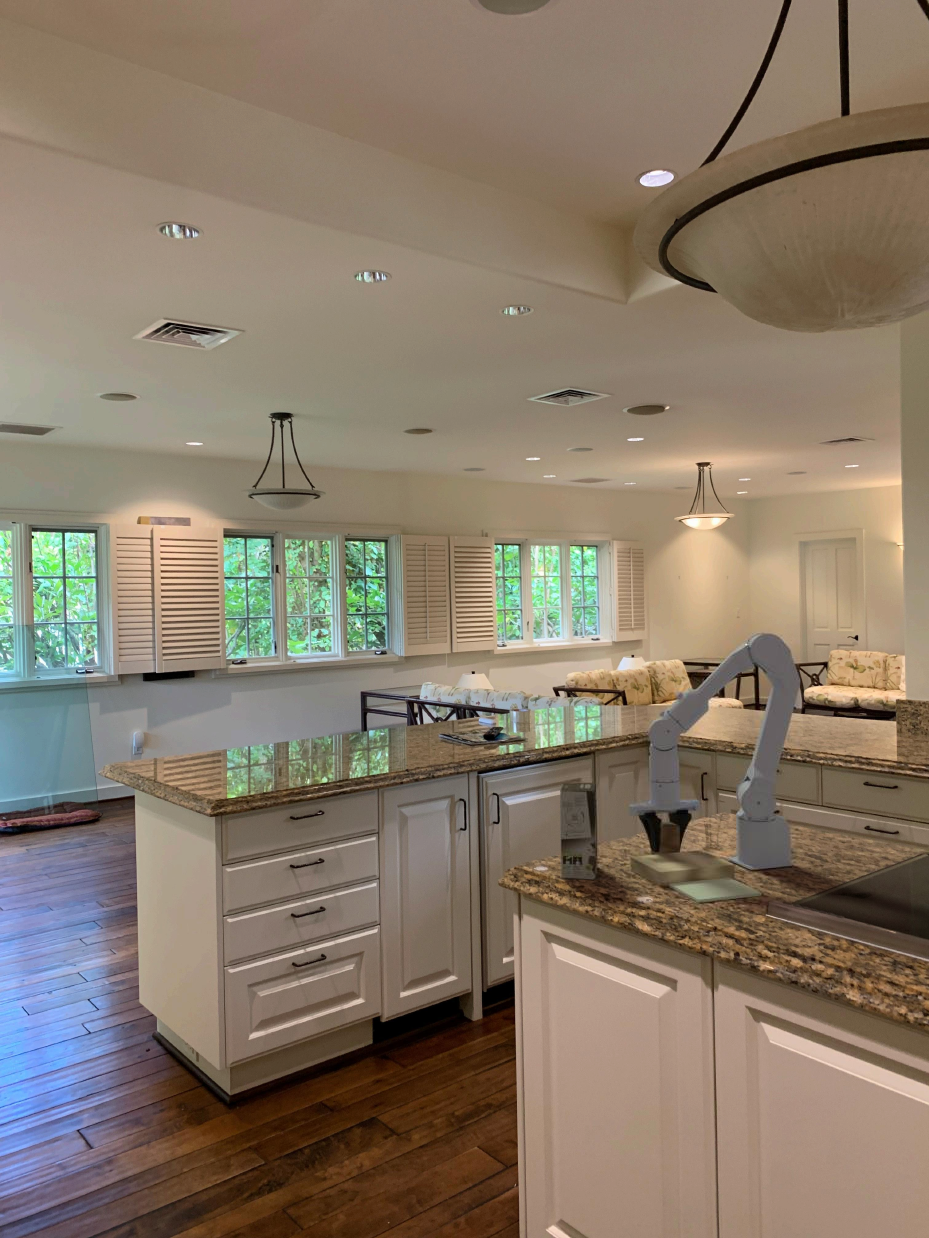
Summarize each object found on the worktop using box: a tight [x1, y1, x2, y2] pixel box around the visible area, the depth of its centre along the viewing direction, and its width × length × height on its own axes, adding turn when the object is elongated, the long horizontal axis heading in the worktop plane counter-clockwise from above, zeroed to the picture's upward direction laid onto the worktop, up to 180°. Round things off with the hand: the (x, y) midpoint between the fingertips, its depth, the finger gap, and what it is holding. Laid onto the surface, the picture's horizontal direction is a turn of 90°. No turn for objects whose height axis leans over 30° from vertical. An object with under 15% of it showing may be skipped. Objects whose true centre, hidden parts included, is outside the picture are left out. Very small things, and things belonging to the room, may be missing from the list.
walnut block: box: [650, 821, 681, 855], centre depth 172 cm, size 4×4×7 cm
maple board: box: [630, 849, 736, 888], centre depth 162 cm, size 15×11×2 cm
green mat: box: [668, 877, 762, 904], centre depth 152 cm, size 12×10×1 cm
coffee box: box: [559, 782, 599, 881], centre depth 165 cm, size 9×6×16 cm
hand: (665, 850), depth 172 cm, fingers closed on walnut block, 4 cm apart
